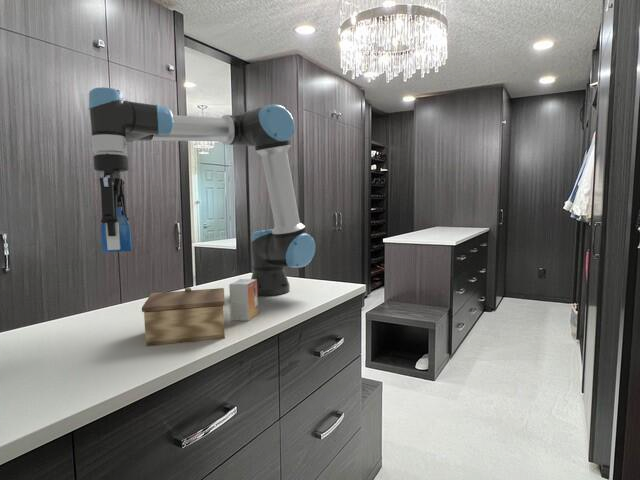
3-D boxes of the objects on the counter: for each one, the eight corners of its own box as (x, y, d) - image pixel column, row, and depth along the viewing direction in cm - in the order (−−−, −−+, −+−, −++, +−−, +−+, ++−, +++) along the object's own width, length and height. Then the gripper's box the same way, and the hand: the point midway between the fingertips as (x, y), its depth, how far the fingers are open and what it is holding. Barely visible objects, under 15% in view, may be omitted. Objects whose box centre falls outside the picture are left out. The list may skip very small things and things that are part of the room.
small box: (249, 321, 116) (247, 284, 115) (230, 320, 117) (228, 283, 116) (259, 313, 123) (257, 278, 122) (241, 313, 125) (239, 278, 124)
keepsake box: (224, 322, 115) (222, 294, 114) (224, 338, 101) (223, 306, 101) (155, 329, 111) (153, 299, 110) (146, 346, 97) (143, 312, 96)
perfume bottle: (104, 250, 105) (101, 202, 104) (131, 248, 107) (128, 202, 106) (102, 252, 99) (98, 202, 98) (131, 250, 102) (127, 201, 101)
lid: (224, 291, 114) (223, 285, 114) (224, 305, 101) (224, 297, 100) (151, 296, 110) (151, 290, 110) (142, 311, 96) (141, 304, 96)
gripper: (117, 149, 92) (125, 251, 95) (135, 159, 112) (141, 243, 114) (80, 149, 91) (89, 253, 93) (104, 159, 110) (111, 245, 112)
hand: (117, 248), depth 103 cm, fingers closed on perfume bottle, 7 cm apart
